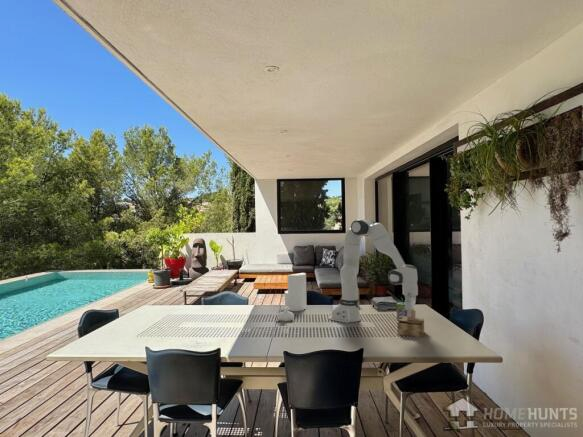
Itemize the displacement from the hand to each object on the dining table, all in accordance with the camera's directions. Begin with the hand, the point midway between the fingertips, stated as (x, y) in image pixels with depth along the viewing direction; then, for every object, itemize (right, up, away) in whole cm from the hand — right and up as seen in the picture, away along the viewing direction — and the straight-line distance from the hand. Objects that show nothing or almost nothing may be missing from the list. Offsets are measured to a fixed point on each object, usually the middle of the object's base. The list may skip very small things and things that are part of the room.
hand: (410, 314), depth 207 cm
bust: (-76, -13, +29) cm, 83 cm away
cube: (0, -3, 0) cm, 3 cm away
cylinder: (-69, -14, +64) cm, 96 cm away
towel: (+2, -13, +64) cm, 65 cm away
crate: (0, -11, 0) cm, 11 cm away
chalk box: (+5, -12, +28) cm, 31 cm away
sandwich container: (-26, -14, +71) cm, 77 cm away
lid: (0, -4, 0) cm, 4 cm away
